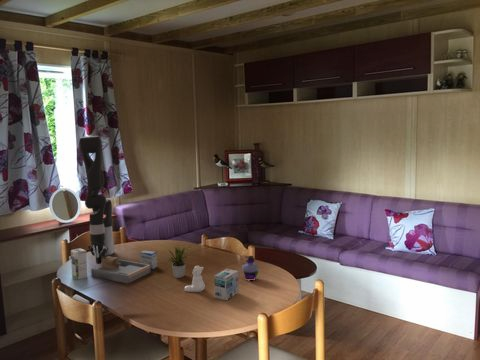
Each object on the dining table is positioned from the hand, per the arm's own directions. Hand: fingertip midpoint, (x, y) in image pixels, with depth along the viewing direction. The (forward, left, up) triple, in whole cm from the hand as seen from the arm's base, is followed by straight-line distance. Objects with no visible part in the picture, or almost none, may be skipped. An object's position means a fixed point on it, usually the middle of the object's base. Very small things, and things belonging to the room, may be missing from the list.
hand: (98, 263), depth 234 cm
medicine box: (-15, +21, -4) cm, 26 cm away
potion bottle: (-22, +79, -4) cm, 82 cm away
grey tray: (0, +15, -4) cm, 16 cm away
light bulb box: (+1, +78, -4) cm, 78 cm away
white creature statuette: (+1, +62, -4) cm, 62 cm away
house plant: (-11, +45, -4) cm, 47 cm away
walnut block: (0, +8, -1) cm, 8 cm away
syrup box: (+13, -1, -4) cm, 13 cm away
